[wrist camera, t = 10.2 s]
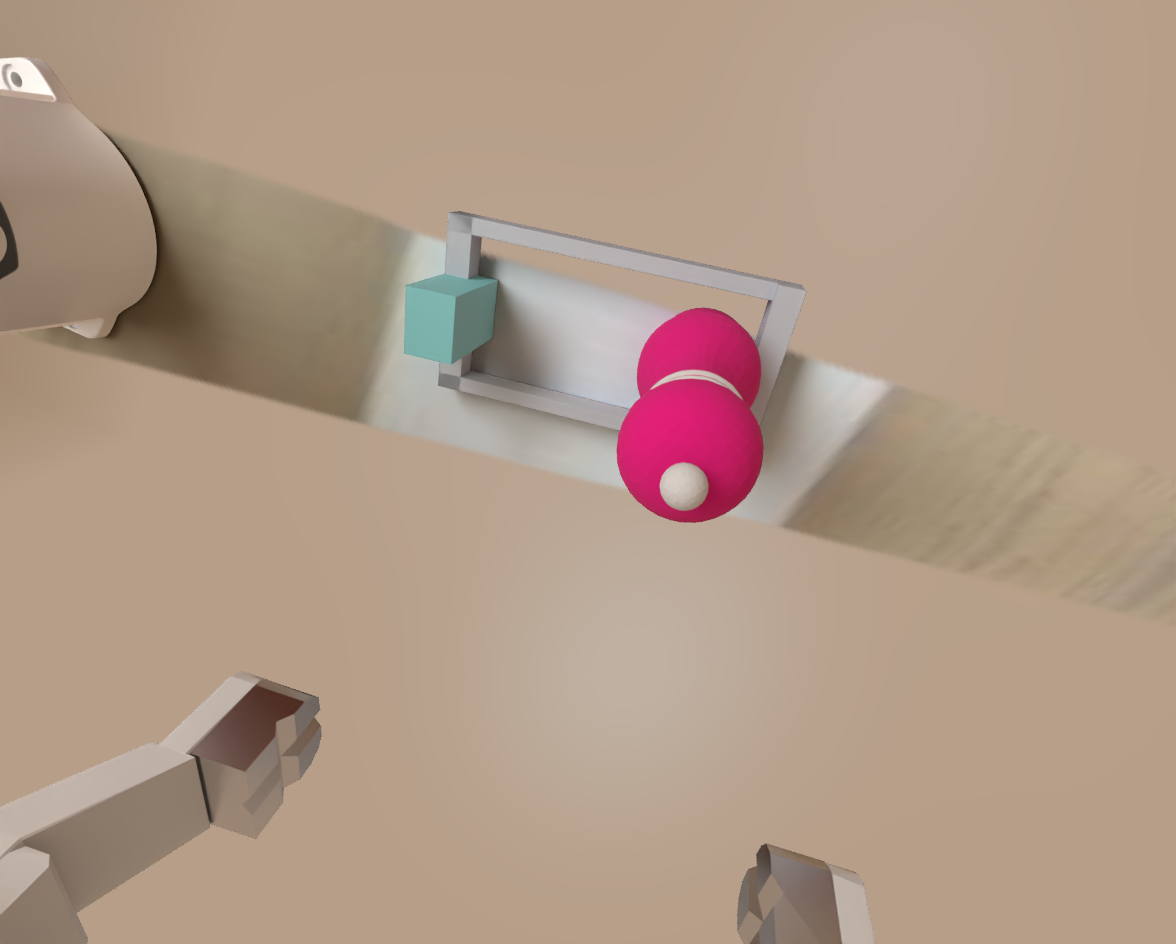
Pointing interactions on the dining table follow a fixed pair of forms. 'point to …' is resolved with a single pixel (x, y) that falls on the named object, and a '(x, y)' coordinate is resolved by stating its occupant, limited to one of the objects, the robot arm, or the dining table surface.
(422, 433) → the dining table surface
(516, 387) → the grey rectangular frame
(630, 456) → the pepper mill
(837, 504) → the dining table surface
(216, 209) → the dining table surface
